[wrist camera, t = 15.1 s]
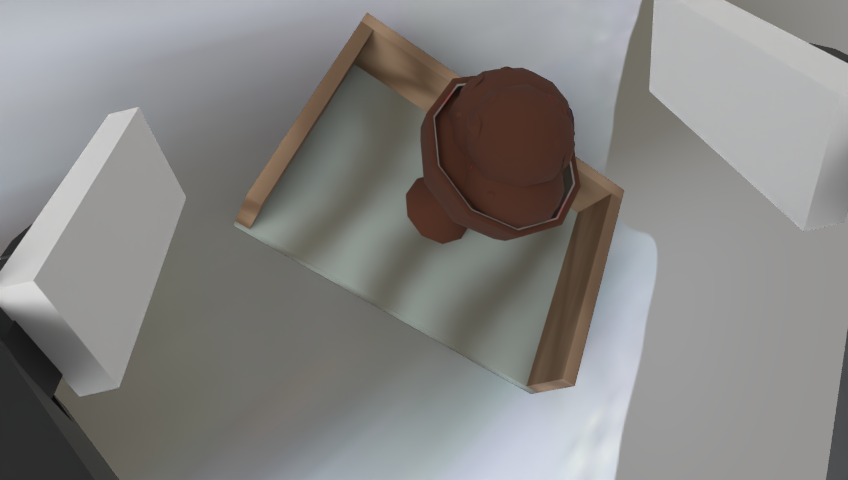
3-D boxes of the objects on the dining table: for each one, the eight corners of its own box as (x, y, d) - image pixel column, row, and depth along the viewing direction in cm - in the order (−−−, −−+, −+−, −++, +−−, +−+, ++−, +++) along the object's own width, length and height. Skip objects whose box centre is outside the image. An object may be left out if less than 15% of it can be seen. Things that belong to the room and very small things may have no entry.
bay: (233, 225, 38) (246, 194, 34) (345, 54, 46) (366, 12, 42) (531, 393, 43) (574, 385, 39) (583, 213, 51) (624, 190, 47)
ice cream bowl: (491, 298, 43) (641, 228, 31) (351, 244, 40) (454, 141, 27) (511, 178, 48) (648, 74, 35) (387, 121, 45) (490, -16, 32)
